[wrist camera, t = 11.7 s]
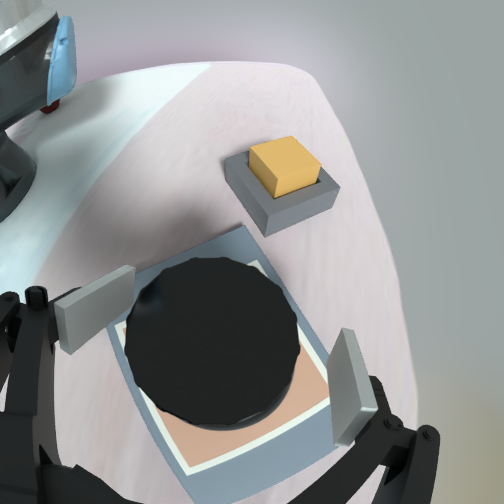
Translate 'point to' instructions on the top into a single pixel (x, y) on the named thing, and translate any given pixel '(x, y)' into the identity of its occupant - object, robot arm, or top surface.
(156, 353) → the ink bottle
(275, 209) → the button housing
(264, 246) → the top surface
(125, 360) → the picture board
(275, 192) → the button
